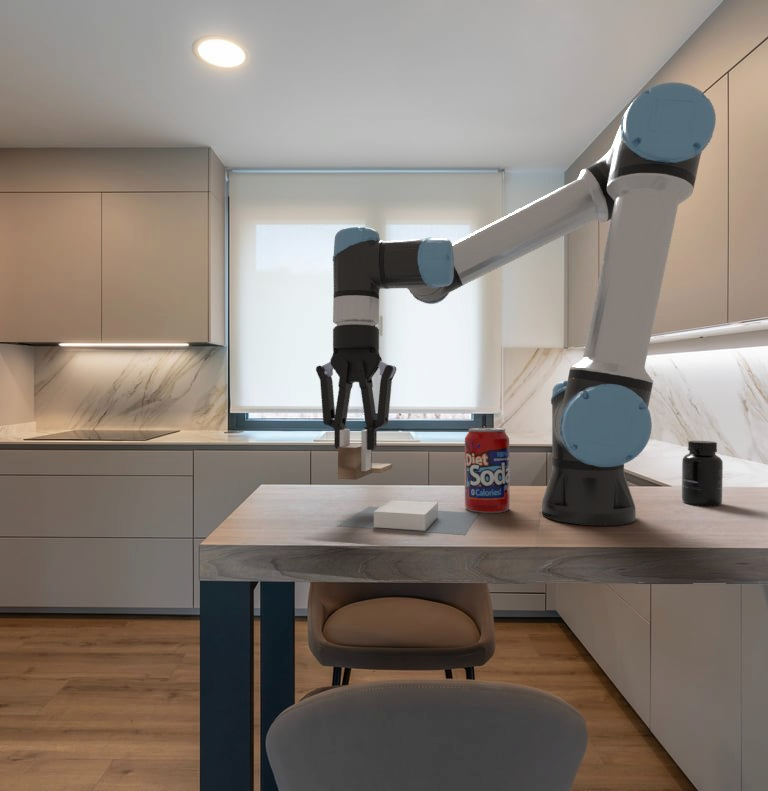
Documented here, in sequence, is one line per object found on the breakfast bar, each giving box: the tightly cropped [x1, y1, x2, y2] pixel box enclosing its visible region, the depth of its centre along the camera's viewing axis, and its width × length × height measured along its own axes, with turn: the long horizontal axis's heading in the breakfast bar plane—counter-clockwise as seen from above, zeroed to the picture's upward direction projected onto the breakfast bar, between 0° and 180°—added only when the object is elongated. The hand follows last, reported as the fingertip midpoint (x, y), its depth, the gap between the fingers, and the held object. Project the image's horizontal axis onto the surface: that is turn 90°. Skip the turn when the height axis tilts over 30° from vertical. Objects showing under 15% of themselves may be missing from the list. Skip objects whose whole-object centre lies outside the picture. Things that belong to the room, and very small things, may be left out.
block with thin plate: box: [337, 442, 393, 481], centre depth 95 cm, size 6×16×5 cm, turn 164°
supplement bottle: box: [681, 440, 724, 507], centre depth 109 cm, size 7×7×12 cm
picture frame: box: [374, 499, 439, 531], centre depth 89 cm, size 8×3×10 cm
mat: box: [336, 506, 480, 536], centre depth 92 cm, size 20×16×1 cm
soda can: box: [464, 427, 510, 514], centre depth 100 cm, size 8×8×15 cm
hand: (355, 469), depth 92 cm, fingers closed on block with thin plate, 3 cm apart
